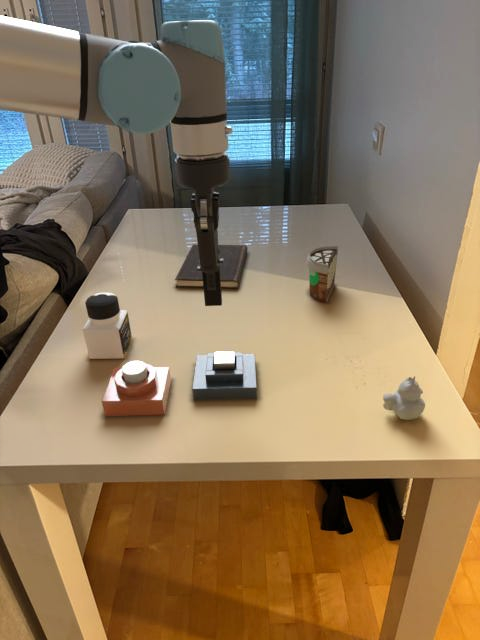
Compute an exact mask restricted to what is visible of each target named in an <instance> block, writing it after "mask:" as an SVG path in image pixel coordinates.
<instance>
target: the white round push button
mask: <svg viewBox="0 0 480 640" xmlns="http://www.w3.org/2000/svg"><path fill="white" fill-rule="evenodd" d="M145 363H146V362H145V361H142V360H137V359H136V360H130V361H128V362H126V363H124V364H123V365H122V367H121V368H122V372H123V377H124V381H125V382H126V383H129V384H134V383H139V382H142V381H144V380H145V379H146V378H147V376H148V374H147V368H146V364H147V363H146V364H145Z"/></svg>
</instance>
